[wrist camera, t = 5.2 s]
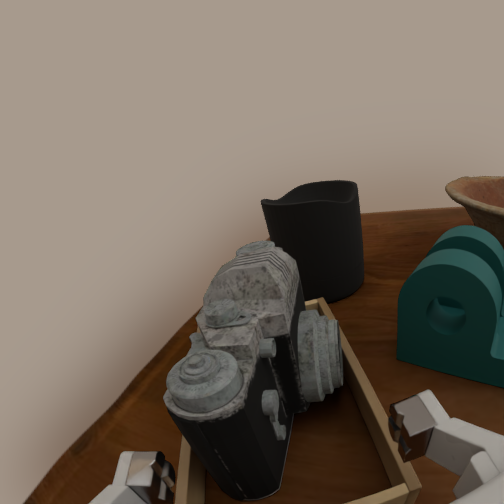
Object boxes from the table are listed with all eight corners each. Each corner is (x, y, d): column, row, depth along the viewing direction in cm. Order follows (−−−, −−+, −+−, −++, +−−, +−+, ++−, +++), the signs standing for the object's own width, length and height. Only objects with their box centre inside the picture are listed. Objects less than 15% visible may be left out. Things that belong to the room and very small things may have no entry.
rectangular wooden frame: (192, 549, 10) (171, 535, 9) (206, 348, 27) (197, 325, 26) (413, 506, 10) (422, 486, 9) (326, 321, 27) (323, 296, 26)
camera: (340, 504, 11) (320, 362, 8) (210, 498, 13) (116, 365, 10) (343, 332, 24) (324, 212, 21) (262, 341, 26) (230, 228, 23)
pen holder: (379, 295, 28) (370, 190, 25) (283, 315, 29) (260, 211, 26) (355, 259, 37) (343, 176, 34) (278, 274, 38) (261, 192, 35)
